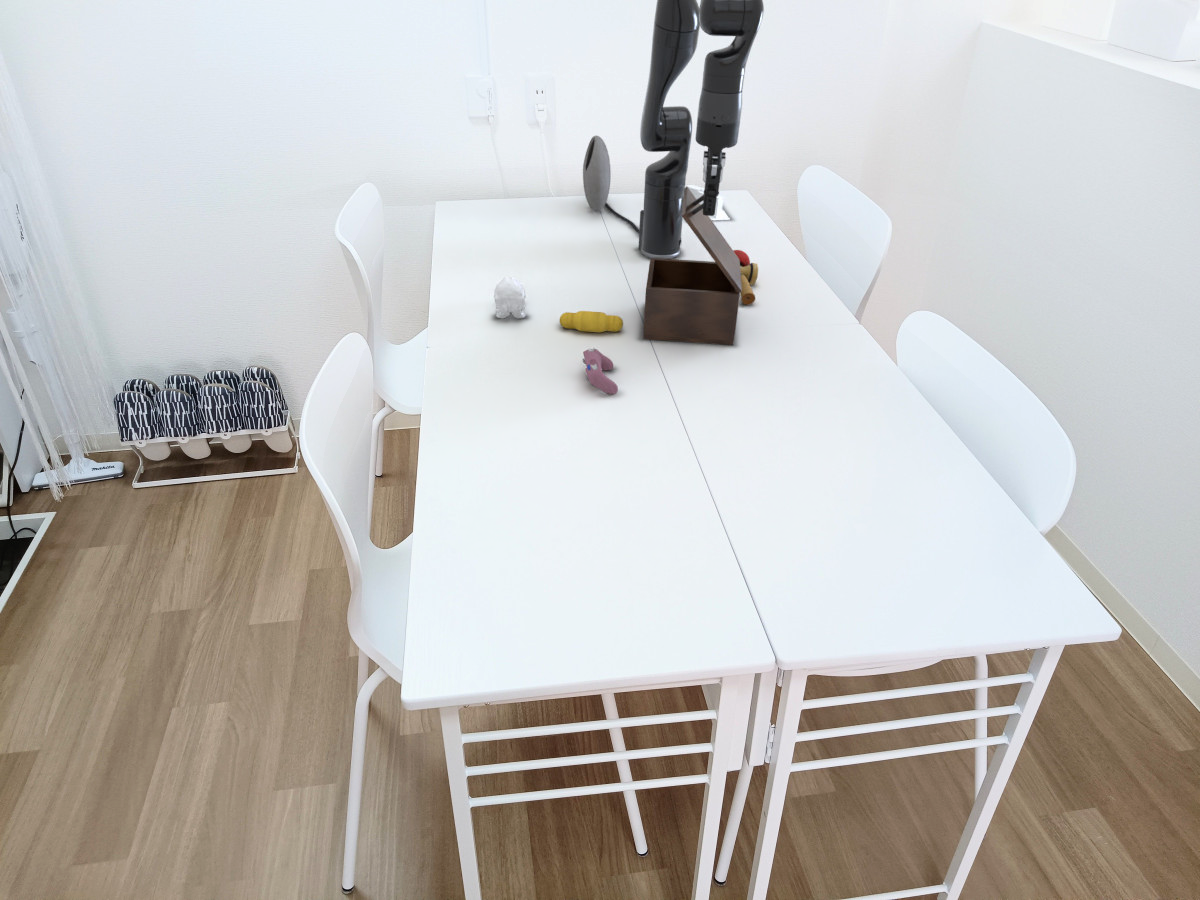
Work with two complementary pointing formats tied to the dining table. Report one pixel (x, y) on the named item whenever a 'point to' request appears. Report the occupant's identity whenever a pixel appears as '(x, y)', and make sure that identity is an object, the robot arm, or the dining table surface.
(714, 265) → the toy chest
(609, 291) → the dining table surface
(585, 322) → the yellow lobed rod
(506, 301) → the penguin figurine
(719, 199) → the napkin holder
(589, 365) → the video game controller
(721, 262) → the lid
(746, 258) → the kendama
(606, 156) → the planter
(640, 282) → the dining table surface
